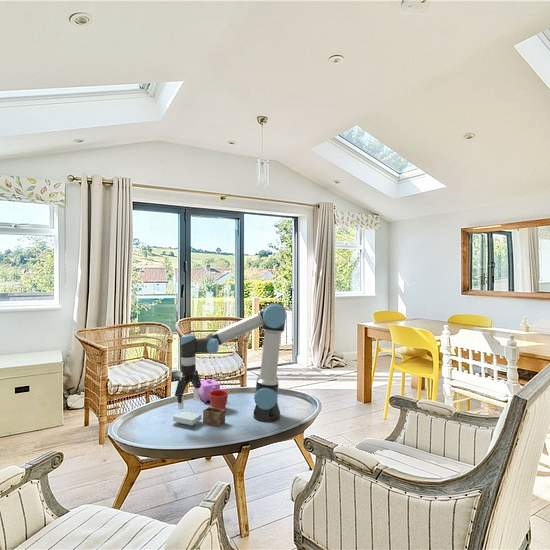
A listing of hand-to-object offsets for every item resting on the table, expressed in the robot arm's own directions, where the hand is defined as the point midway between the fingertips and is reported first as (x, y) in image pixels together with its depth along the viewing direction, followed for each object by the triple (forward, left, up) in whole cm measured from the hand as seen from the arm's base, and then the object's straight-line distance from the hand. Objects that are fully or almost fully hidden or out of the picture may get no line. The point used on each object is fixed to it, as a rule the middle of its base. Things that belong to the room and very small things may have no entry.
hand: (188, 404), depth 195 cm
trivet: (0, 0, -11) cm, 10 cm away
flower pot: (-4, -25, -11) cm, 27 cm away
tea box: (-12, -7, -11) cm, 17 cm away
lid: (0, 0, -8) cm, 8 cm away
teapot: (+9, -36, -11) cm, 39 cm away
